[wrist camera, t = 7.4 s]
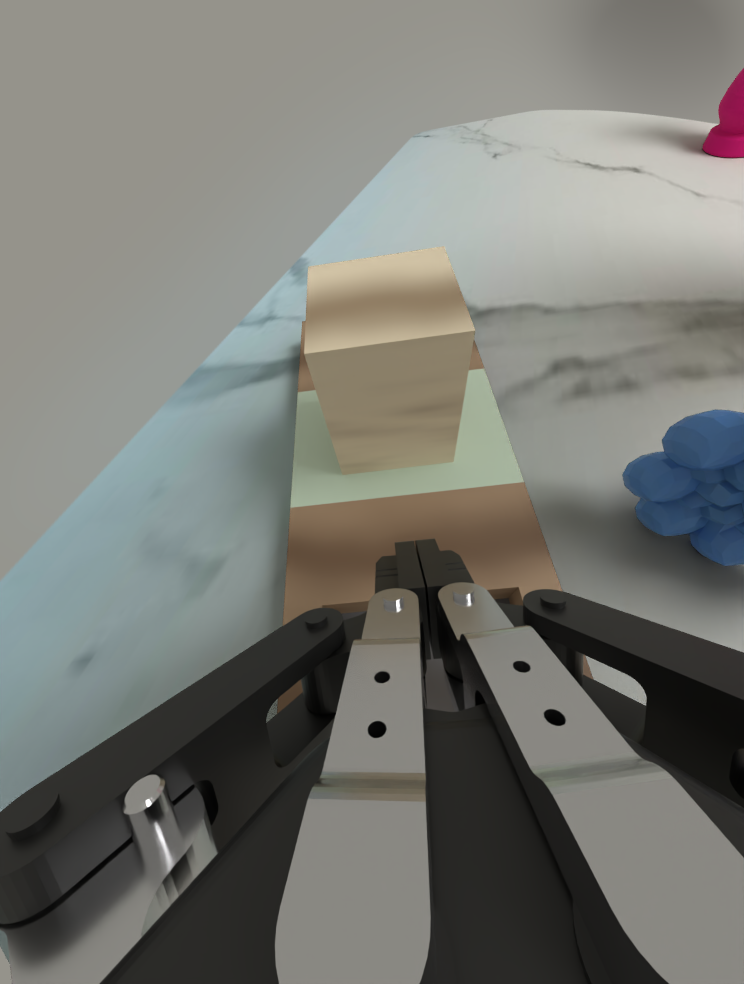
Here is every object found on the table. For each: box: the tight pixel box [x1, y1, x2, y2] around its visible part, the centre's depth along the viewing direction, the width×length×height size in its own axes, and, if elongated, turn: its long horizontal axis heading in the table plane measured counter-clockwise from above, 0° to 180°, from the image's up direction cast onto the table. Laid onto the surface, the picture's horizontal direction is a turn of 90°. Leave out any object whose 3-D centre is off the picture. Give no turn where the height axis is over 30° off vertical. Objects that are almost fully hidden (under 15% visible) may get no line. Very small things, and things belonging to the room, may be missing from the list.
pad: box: [290, 369, 524, 508], centre depth 24 cm, size 10×14×2 cm
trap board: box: [277, 321, 593, 714], centre depth 23 cm, size 32×14×2 cm, turn 4°
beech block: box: [304, 246, 475, 475], centre depth 20 cm, size 7×7×9 cm
